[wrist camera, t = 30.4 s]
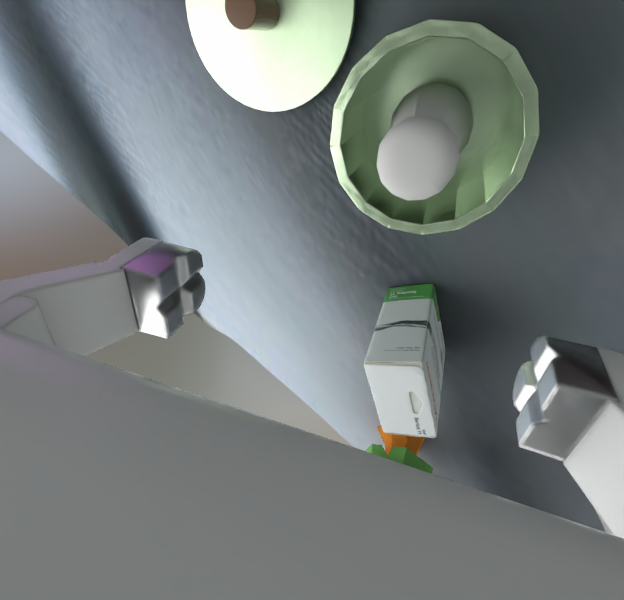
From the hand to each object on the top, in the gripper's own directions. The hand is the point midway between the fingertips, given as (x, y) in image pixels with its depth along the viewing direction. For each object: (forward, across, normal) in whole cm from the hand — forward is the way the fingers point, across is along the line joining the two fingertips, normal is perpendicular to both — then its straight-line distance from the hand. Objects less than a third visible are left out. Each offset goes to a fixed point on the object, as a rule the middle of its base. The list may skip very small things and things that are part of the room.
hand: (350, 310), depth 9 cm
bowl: (+27, 0, 0) cm, 27 cm away
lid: (+26, -14, +6) cm, 31 cm away
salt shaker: (+27, 0, 0) cm, 27 cm away
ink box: (+27, +3, -19) cm, 33 cm away
